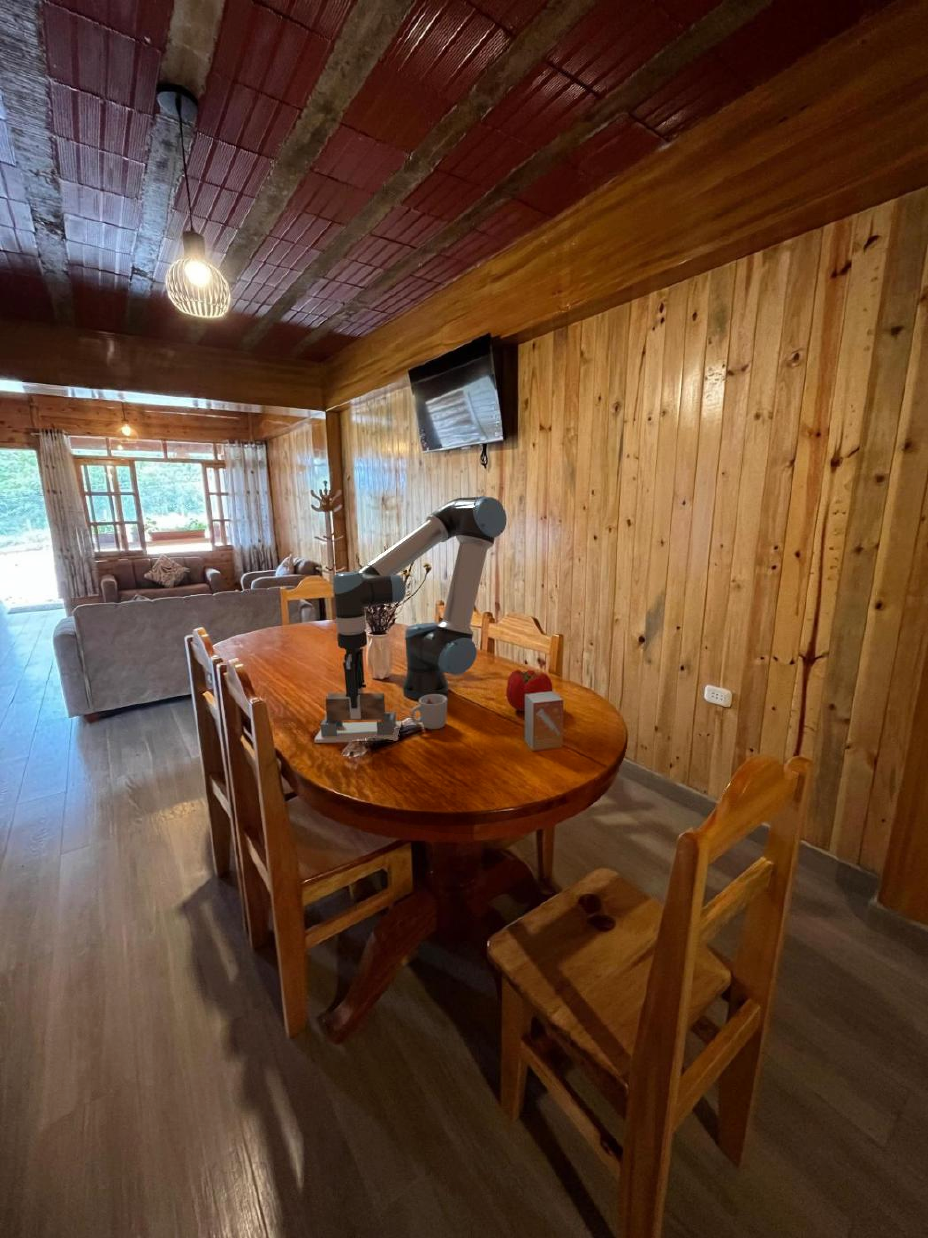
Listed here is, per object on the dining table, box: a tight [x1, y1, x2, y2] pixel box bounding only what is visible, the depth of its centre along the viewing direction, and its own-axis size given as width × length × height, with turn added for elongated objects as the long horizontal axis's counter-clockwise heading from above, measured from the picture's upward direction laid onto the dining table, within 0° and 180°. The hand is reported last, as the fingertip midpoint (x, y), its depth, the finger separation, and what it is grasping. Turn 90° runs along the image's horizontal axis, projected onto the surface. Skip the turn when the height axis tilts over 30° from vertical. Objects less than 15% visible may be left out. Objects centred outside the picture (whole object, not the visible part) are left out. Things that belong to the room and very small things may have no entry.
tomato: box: [505, 669, 554, 712], centre depth 150 cm, size 13×14×12 cm
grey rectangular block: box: [325, 692, 386, 721], centre depth 136 cm, size 15×4×6 cm, turn 91°
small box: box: [524, 690, 564, 752], centre depth 127 cm, size 8×6×13 cm
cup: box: [410, 694, 448, 730], centre depth 140 cm, size 11×8×8 cm
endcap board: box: [314, 711, 403, 744], centre depth 137 cm, size 22×10×4 cm, turn 90°
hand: (357, 714), depth 136 cm, fingers closed on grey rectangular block, 4 cm apart
